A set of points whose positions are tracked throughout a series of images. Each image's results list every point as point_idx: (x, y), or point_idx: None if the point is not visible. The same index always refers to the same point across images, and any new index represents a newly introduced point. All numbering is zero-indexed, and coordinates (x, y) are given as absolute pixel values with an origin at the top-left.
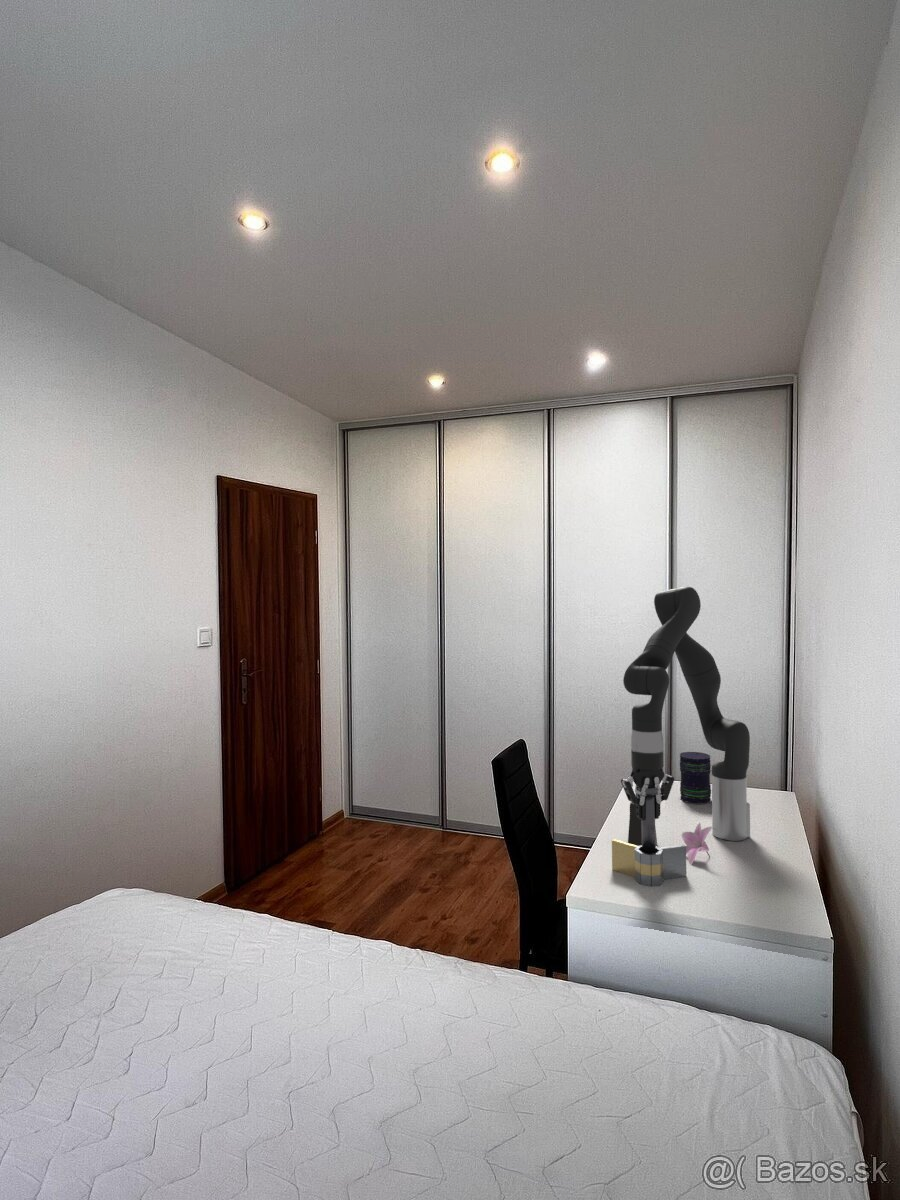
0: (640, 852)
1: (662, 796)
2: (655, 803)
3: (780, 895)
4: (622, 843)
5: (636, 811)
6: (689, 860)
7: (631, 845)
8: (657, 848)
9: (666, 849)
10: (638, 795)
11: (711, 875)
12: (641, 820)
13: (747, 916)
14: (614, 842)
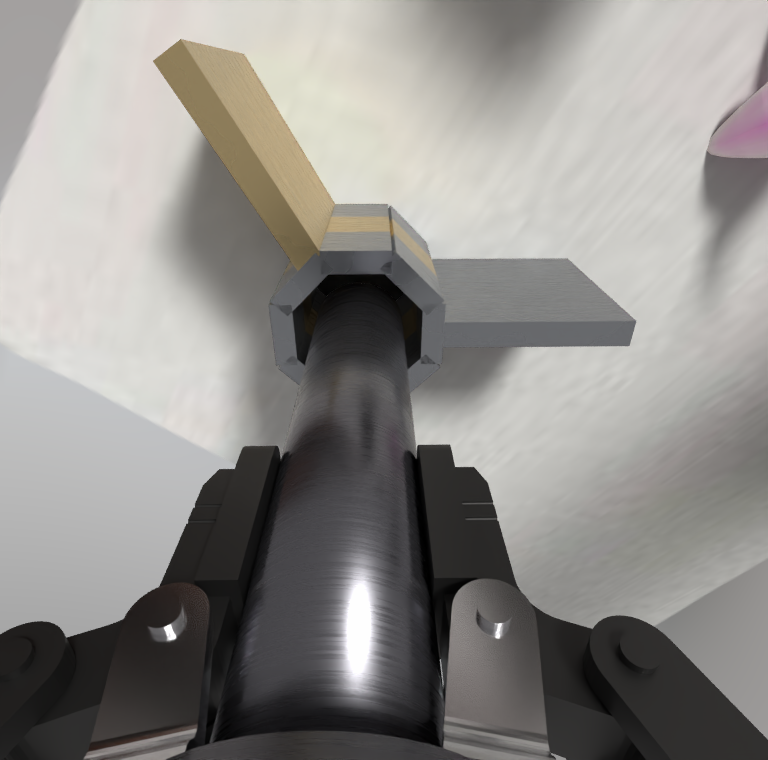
0: (283, 358)
1: (575, 746)
2: (439, 639)
3: (737, 501)
4: (225, 163)
5: (194, 523)
6: (733, 119)
7: (277, 230)
8: (425, 333)
9: (481, 343)
10: (156, 733)
11: (678, 302)
12: (289, 433)
13: (514, 568)
14: (177, 89)
